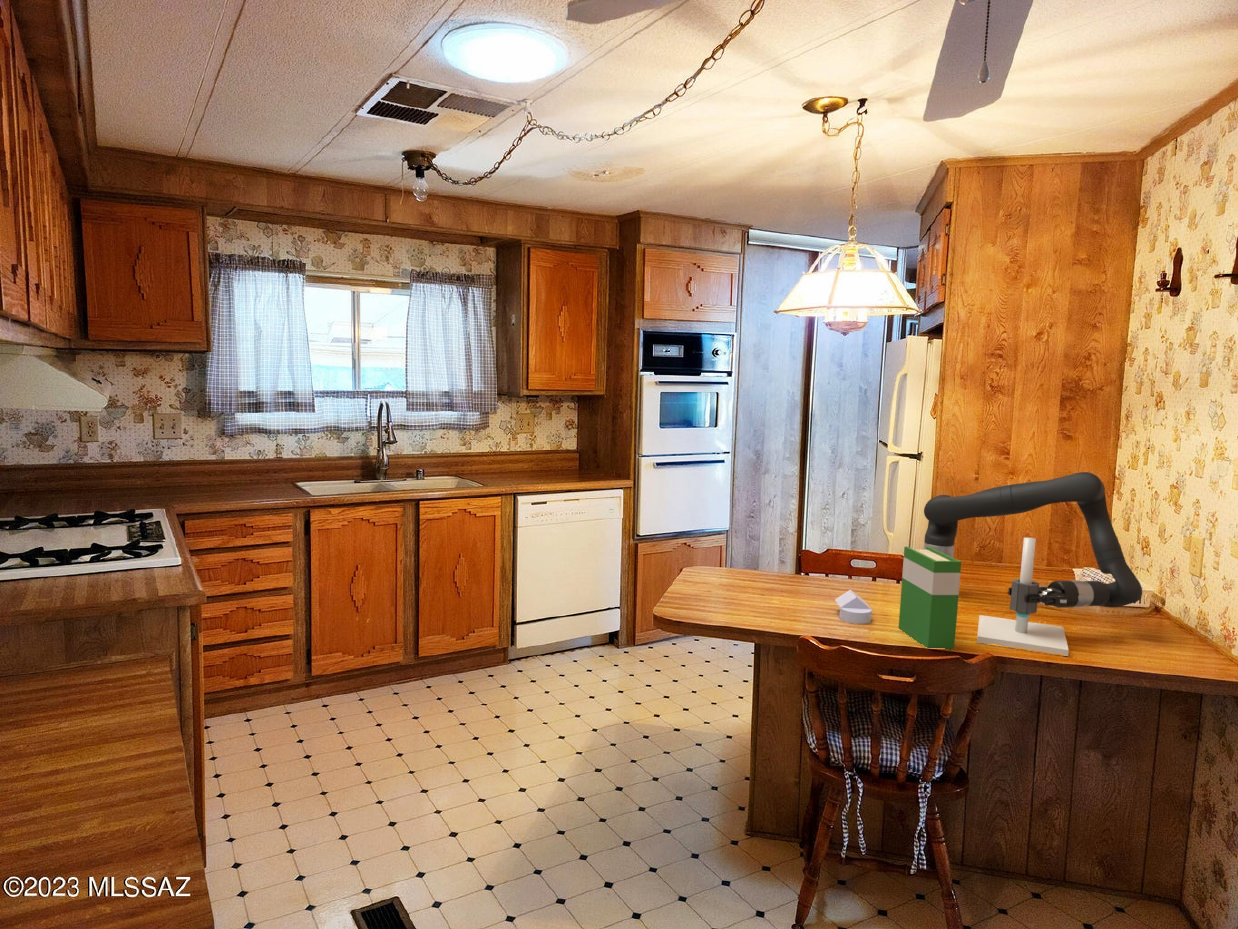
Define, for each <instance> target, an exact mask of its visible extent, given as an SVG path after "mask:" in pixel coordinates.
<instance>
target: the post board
mask: <svg viewBox="0 0 1238 929" xmlns="http://www.w3.org/2000/svg"><path fill="white" fill-rule="evenodd" d="M1036 542H1037V539H1036V538H1035V537H1023V541H1022V553H1021V554H1022V555H1021V565H1020V575H1019V579H1020V583H1023V584H1032V581H1033V575H1034V574H1033V573H1034V565H1035V564H1034V562H1035V553H1036ZM978 615H979V618H978V625H977V626H978V628H977V637H976V644H978V643H984V644H983V645H985V644H996V645H1002V646H1008V647H1015V648H1024V649H1029V650H1034V651H1041V652H1047V653H1051V654H1061V655H1064V656H1068V657H1069V646H1068V642H1067V638H1066V633H1065V629H1064V626H1060V625H1059V626H1058V625H1052V624H1045V623H1039V622H1031V621H1029V618H1030V615H1031V614H1025V613H1019V612H1015V616H1016V618H1015V619H1010V618H1005V617H1004V618H1002V617H998V616H997V617H996V616H990V615H989V616H988V615H981V614H978Z"/></svg>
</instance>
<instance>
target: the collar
mask: <svg viewBox="0 0 1238 929" xmlns="http://www.w3.org/2000/svg"><path fill="white" fill-rule="evenodd" d="M1039 586H1040V583H1039V582H1037V581H1035V580H1032V584H1023V583H1020V578H1019V579H1018V578H1015V579H1013V580H1012V583H1011V587H1012V592H1011V596H1010V604H1009V610H1011V611H1013V612H1015V613H1016V612H1019V613H1025V614H1030V615H1031V614H1032V615H1033V614H1036V613H1037V610H1038V603H1026V602H1025V601H1024V598H1025V595H1026V594H1038V592H1039Z"/></svg>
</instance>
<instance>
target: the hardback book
mask: <svg viewBox="0 0 1238 929" xmlns="http://www.w3.org/2000/svg"><path fill="white" fill-rule="evenodd" d="M903 550H904V551H903V563H902V564H903V565H902V576H901V591H900V593H901V594H900V600H899V601H900V604H899V605H900V606H899V616H898V617H899V618H898V629H899V630H900V631H901V630H902V631H901V632H903V633H904V632H905V633H906V635H907V634H908V635H909V636H908V635H907V636H908V637H910V638H911V637H912V638H913V639H912V638H911V639H912V640H914V641H915V640H916V641H917V642H916V641H915V642H916V643H918V644H919V643H920V644H923V645H924V646H925V647H927V648H945V649H954V650H955V646H956V645H955V643H956V633H957V622H958V621H957V619H958V609H959V598H960V597H959V596H960V583H961V582H960V581H961V573H962V571H961V570H962V560H959V559H956V558H954V557H953V558H952V557H950V556H948V555H946V554H944V553H942V552H940V551H937V550H935V549H933V548H931V547H926V549H924V548H923V549H916V548H915V549H914V548H911V547H910V546H904V549H903ZM905 633H904V634H905ZM920 644H919V645H920ZM925 647H924V648H925Z"/></svg>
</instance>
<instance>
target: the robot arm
mask: <svg viewBox="0 0 1238 929" xmlns="http://www.w3.org/2000/svg"><path fill="white" fill-rule="evenodd" d="M1106 497H1107V496H1106V488H1105V485H1104V482H1103V481H1102V480H1101V479H1100V477H1098V476H1097V475H1096V474H1094V473H1092V472H1088V471H1082V472H1081V471H1080V472H1075V473H1072V474H1069V475H1068V474H1067V475H1063V476H1059V477H1056V478H1052V479H1048V480H1039V481H1030V482H1021V483H1012V484H1006V485H1000V486H995V487H991V488H987V489H984V490H981V491H977V492H975V493H971V494H965V495H960V496H952V495H948V494H940V495H936V496H934V497H932V498H930V499H929V500H928V501H927V502H926V503H925V505H924V508H923V514H924V517H925V519H927V522H928V523H927V529H926V531H925V534H924V541H923V542H924V544H923V549H926V547H931V548H933V549H935V550H937V551H940V552H942V553H944V554H946V555H948V556H950V557H952V558H954V552H955V541H956V538H957V533H958V526H959V525H958V523H959V521H961V520H966V519H967V520H968V519H973V518H990V517H1001V516H1010V515H1011V516H1012V515H1020V514H1023V513H1027V512H1031V511H1034V510H1037V509H1039V508H1042V507H1045V506H1048V505H1052V504H1061V503H1076V504H1077V506H1078V508H1079V509H1080V511H1081V513H1082V515H1083V518H1084V520H1085V523H1086V526H1087V529H1088V535H1089V539H1090V543H1091V547H1092V551H1093V554H1094V557H1095V560H1096V564H1097V566H1098V569H1099V571H1100V572H1101V573H1102V574H1104V575H1111V576H1112V577H1113V579H1114V581H1113V582H1108V583H1104V582H1102V581H1100V580H1099V581H1098V580H1076V579H1075V580H1074V579H1073V580H1053V581H1051V582H1050V583H1049V585H1047V586H1046V585H1039V592H1038V594H1026V595H1025V598H1024V601H1025V602H1026V603H1037V604H1039V605H1043V604H1044V606H1046V607H1048V606H1050V607H1051V606H1053V607H1054V608H1059V609H1061V608H1062V609H1063V608H1065V609H1066V608H1067V609H1068V608H1083V607H1097V606H1100V607H1106V608H1121V607H1123V606H1127V605H1132V604H1134V603H1137V602H1138V601H1140V600H1141V599H1142V597H1143V588H1142V585H1141V582H1140V581H1139V579H1138V577H1137V576H1136V575H1135V574H1134V572H1133V570H1132V569H1131V567H1130V566H1129V565H1128V563H1127V561H1126V558H1125V556H1124V553H1123V550H1122V547H1121V544H1120V542H1119V539H1118V537H1117V535H1116V534H1117V533H1116V531H1115V529H1114V526H1113V524H1112V520H1111V519H1110V514H1109V510H1108V504H1107V500H1106V499H1107V498H1106ZM1007 589H1008V590H1007V595H1008V596H1010V597H1011V592H1012V586H1011V587H1010V586H1009V587H1008V588H1007Z"/></svg>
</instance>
